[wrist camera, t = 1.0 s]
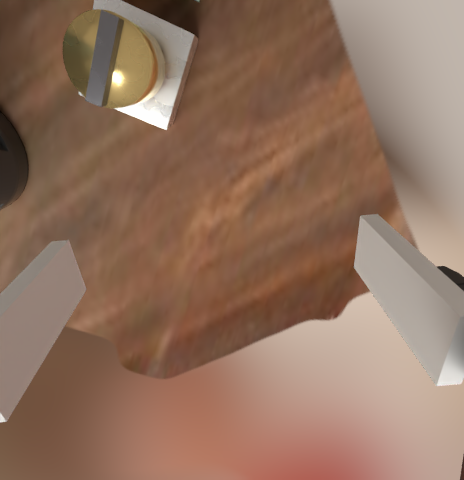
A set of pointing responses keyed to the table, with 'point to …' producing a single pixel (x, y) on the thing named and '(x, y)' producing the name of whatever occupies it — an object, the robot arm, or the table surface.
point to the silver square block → (175, 56)
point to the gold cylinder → (112, 59)
